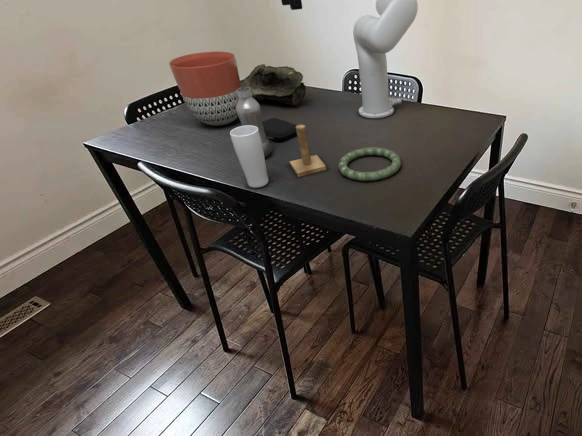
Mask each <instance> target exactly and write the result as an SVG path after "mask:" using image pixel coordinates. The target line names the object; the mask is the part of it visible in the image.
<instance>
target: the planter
mask: <svg viewBox="0 0 582 436" xmlns="http://www.w3.org/2000/svg"><path fill="white" fill-rule="evenodd" d="M168 65H169V68H170V70H171V73H172V75H173V77H174V80H175V82H176V85H177V87H178V90H179V92H180V95H181V97H182V100H183V102H184V104H185V106H186V108H187V109H188V111H189V112H190V113H191V114H192V116H193V117H194V118H195V119H197V120H198V121H200V122H201V123H203V124H205V125H208V126H213V127H221V126H226V125H229V124H231V123H234V121H236V120H237V118H239V117H238V115H237V112H236V105H237V102H238V100H239V98H238V97H237V92H236V90H237V89H238V88H242V84H241V78H240V73H239V68H238V63H237V59H236V56H235V54H234V53H232V52H228V51H219V50H218V51H217V50H216V51H215V50H214V51H201V52H195V53H188V54H184V55H180V56H177V57H175V58H173V59H171V60H170V61H169V62H168Z"/></svg>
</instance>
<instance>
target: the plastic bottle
mask: <svg viewBox="0 0 582 436" xmlns="http://www.w3.org/2000/svg"><path fill="white" fill-rule="evenodd" d="M236 92H237V97H238V98H239V100H238V102H237V105H236V112H237V115H238V117H237V118H238V119H239V121H240V123H241V126H246V125H252V126H256V127H257V128H258V130H259V133H260V136H261V140H262V145H263V150H264V157H265V158H267V157H269V156H270V154H271V151H272V149H271V148H272V147H271V144H270V142H269V139H268V138H267V137H266V134H265V132H264V128H263V123H262V122H263V119H262V109H261V105H260V103H259V102H258V101H257V100H256V99H255V98H254V97H253V94H252V93H251V89H250V88H249V87H243V86H241V88H238V89H237V90H236Z"/></svg>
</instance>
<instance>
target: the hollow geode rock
mask: <svg viewBox="0 0 582 436" xmlns="http://www.w3.org/2000/svg"><path fill="white" fill-rule="evenodd" d="M303 79H304V75H303V74H302V73H301V72H300V71H297V70H296V69H295V68H294V67H292V66H287V65H285V66H271V65H266V64H263V63H262V64H259V65H256V66H255V67H254V69H252V71H251V72H250V73H249V75H247V76H246V77H244V79H243V83H242V87H249V88H250V89H251V93H252V95H253V96H256V97H257V100H258V101H263V100H264V99H266V100H271V101H272V100H273V101H277V102H279V103H283V104H286V105H290V106H293V107H294V106H295V107H298V106H300V104H301V103H302V101H303V100H304V98H305V97H306V92H307V87H306V85H305V82H303Z"/></svg>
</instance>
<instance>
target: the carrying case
mask: <svg viewBox="0 0 582 436" xmlns="http://www.w3.org/2000/svg"><path fill="white" fill-rule="evenodd" d="M262 123H263V128H264V132H265V134H266V137H267V140H274V141H278V142H282V141H283V142H284V141H286V140H288V139H290V138H292V137H294V136H297V131H296V126H297V124H295V123H292V122H289V121H286V120H283V119H280V118H277V117H271V118H268V119H265V120H262Z"/></svg>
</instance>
